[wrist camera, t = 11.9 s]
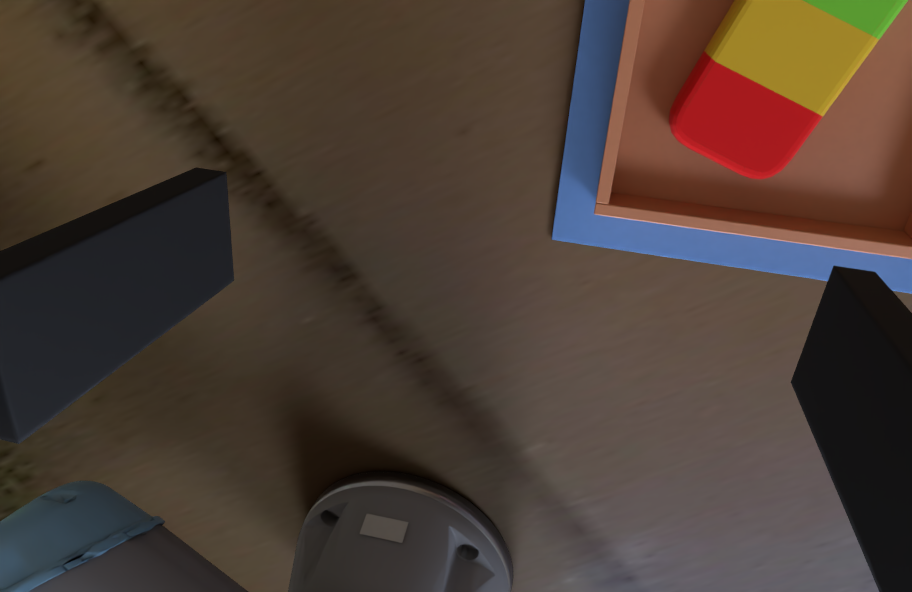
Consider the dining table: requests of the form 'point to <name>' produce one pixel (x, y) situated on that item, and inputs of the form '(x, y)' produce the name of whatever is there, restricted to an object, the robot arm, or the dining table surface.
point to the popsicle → (773, 78)
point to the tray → (799, 183)
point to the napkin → (584, 227)
